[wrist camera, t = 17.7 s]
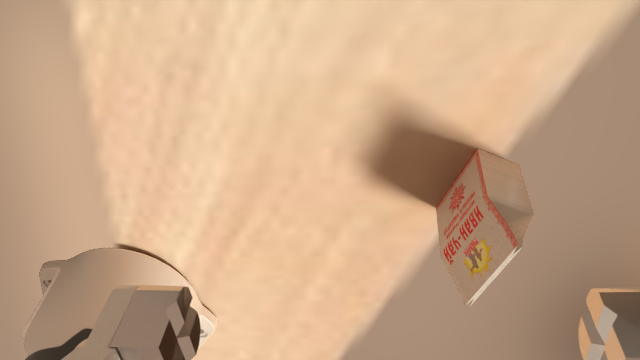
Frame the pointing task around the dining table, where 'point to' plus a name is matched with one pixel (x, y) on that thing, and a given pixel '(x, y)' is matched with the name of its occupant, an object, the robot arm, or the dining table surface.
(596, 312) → the robot arm
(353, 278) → the dining table surface
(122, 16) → the dining table surface
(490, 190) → the tea bag
